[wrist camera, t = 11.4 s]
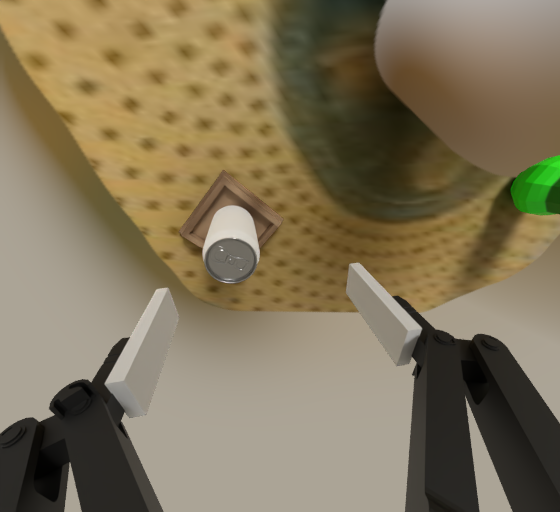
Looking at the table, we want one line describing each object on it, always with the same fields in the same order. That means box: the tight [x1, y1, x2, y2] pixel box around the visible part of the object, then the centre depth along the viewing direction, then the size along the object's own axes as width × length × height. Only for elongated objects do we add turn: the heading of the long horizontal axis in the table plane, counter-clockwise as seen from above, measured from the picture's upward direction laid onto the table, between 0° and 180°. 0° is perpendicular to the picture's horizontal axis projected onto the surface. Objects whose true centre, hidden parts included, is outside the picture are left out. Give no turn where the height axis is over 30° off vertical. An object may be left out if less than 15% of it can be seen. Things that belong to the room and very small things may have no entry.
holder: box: [179, 170, 284, 249], centre depth 34 cm, size 12×12×2 cm
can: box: [203, 205, 260, 283], centre depth 29 cm, size 6×6×12 cm
